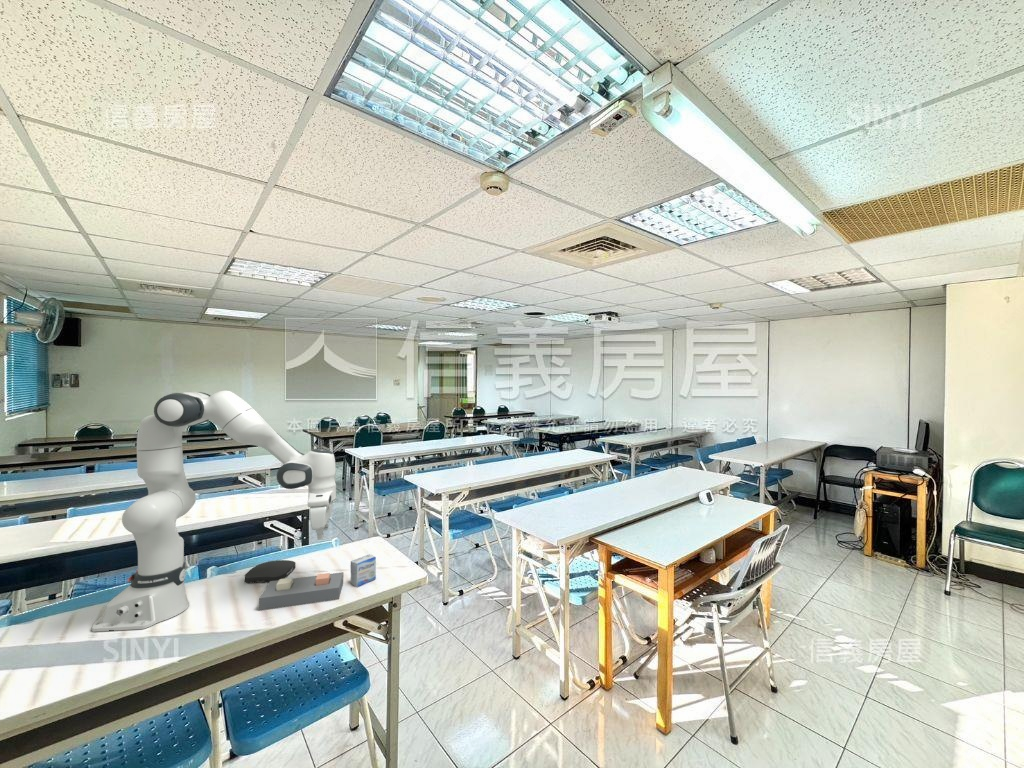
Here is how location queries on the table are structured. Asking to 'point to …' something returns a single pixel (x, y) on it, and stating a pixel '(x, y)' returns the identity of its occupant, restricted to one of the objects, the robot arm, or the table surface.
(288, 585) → the sand key
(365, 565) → the medicine box
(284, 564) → the media streaming box
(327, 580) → the terracotta key
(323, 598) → the key panel
